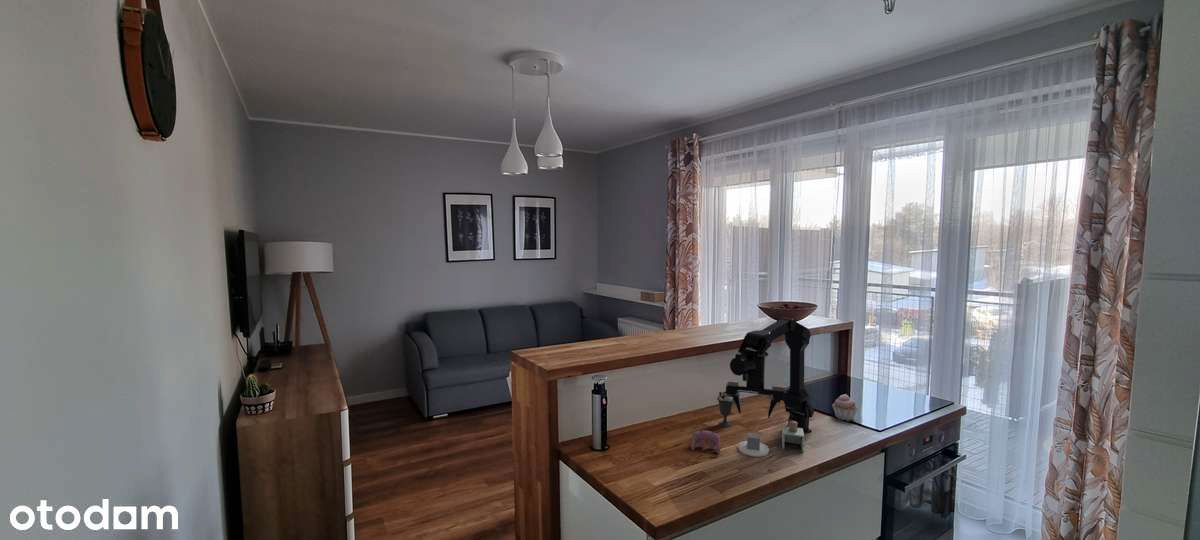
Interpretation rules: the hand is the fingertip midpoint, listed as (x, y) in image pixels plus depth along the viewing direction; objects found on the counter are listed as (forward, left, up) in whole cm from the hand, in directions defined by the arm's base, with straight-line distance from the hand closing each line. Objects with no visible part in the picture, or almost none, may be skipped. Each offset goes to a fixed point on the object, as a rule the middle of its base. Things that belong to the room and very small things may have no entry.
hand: (754, 415), depth 159 cm
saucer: (0, 0, -12) cm, 12 cm away
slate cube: (0, 0, -11) cm, 11 cm away
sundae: (-1, -22, -12) cm, 25 cm away
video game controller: (+15, -4, -12) cm, 20 cm away
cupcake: (-51, -18, -12) cm, 56 cm away
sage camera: (-15, 0, -12) cm, 19 cm away
